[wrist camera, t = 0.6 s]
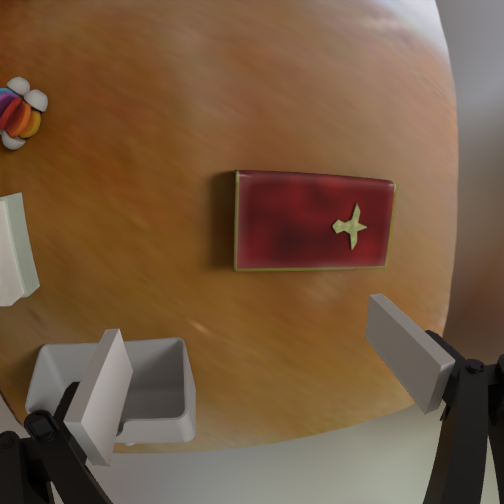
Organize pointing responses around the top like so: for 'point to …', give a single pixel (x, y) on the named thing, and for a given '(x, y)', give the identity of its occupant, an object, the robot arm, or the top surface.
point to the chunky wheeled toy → (20, 112)
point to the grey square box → (15, 252)
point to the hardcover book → (311, 221)
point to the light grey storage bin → (139, 391)
